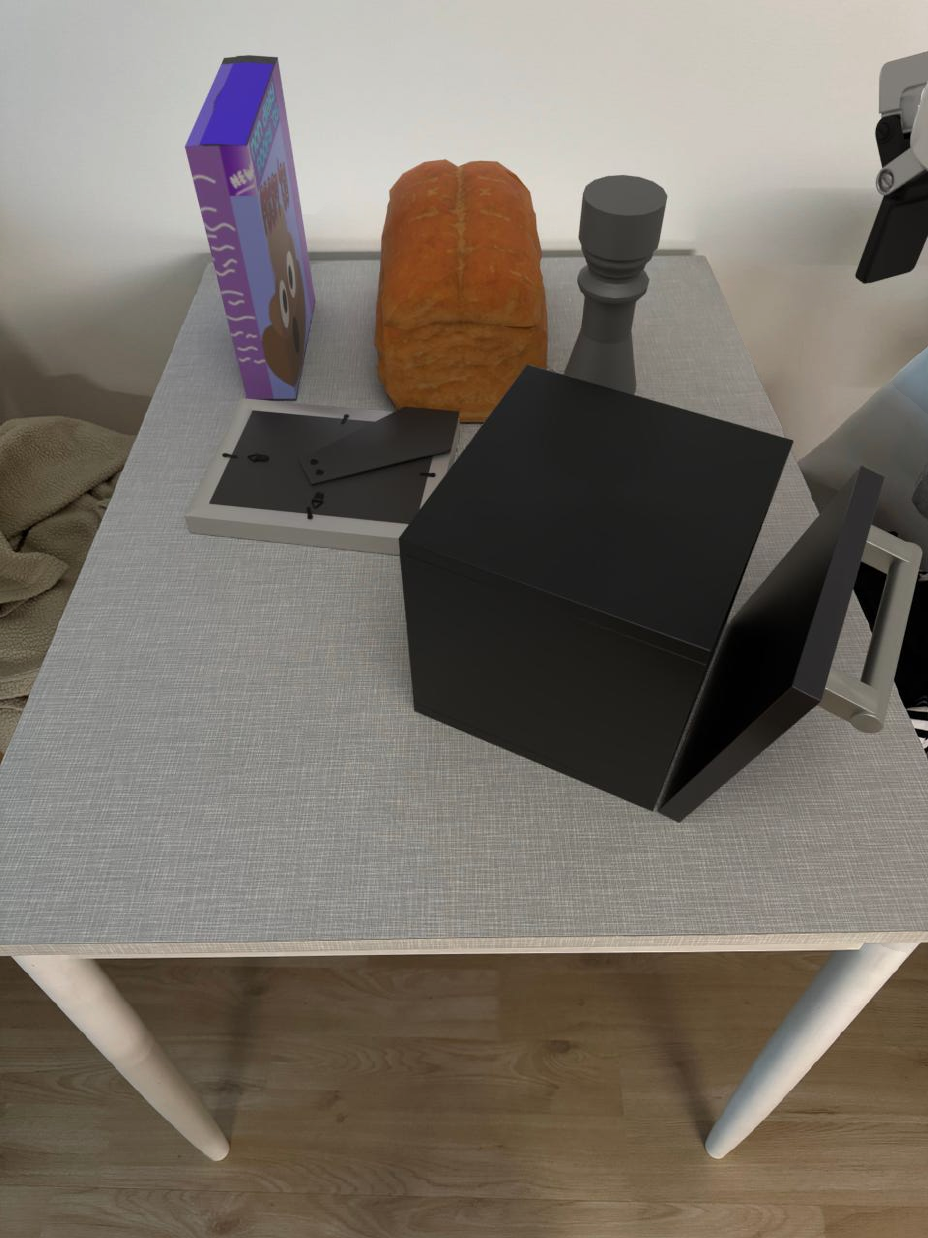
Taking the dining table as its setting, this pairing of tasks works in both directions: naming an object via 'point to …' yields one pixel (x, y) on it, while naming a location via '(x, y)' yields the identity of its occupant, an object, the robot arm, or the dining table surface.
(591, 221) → the candle holder
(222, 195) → the cereal box
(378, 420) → the picture frame
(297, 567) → the dining table surface
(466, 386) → the bread
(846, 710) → the oven door
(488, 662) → the oven
